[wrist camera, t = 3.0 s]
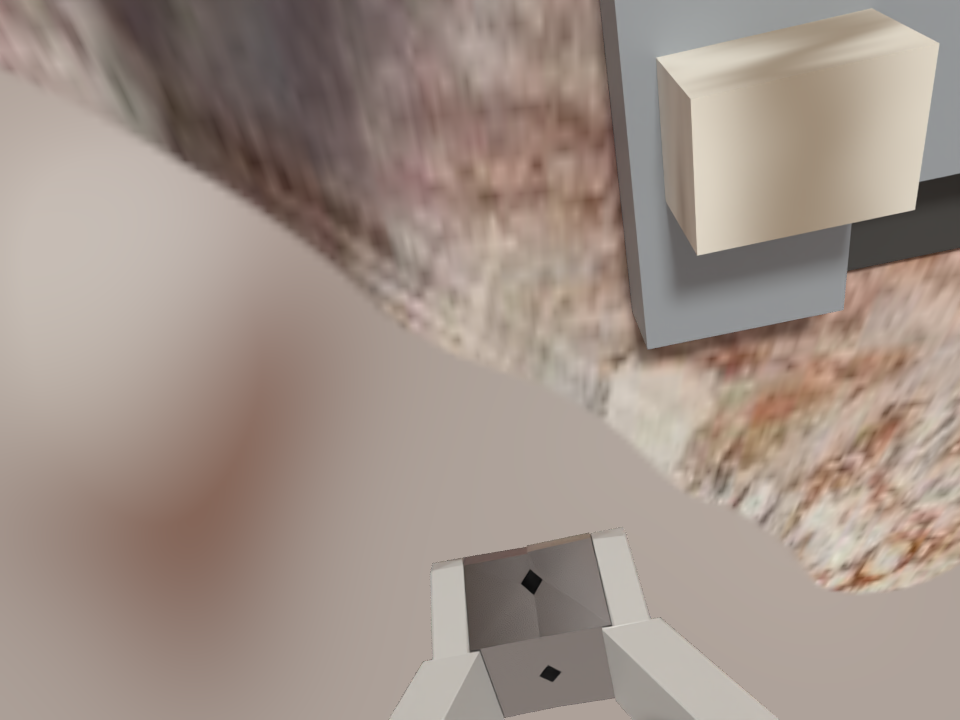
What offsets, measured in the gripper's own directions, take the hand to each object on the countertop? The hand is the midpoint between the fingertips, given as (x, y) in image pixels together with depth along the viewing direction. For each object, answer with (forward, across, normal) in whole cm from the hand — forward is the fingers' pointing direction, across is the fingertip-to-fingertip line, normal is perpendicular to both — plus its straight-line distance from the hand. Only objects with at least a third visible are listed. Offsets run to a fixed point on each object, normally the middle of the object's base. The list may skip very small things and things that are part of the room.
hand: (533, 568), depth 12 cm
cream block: (+15, -9, 0) cm, 17 cm away
